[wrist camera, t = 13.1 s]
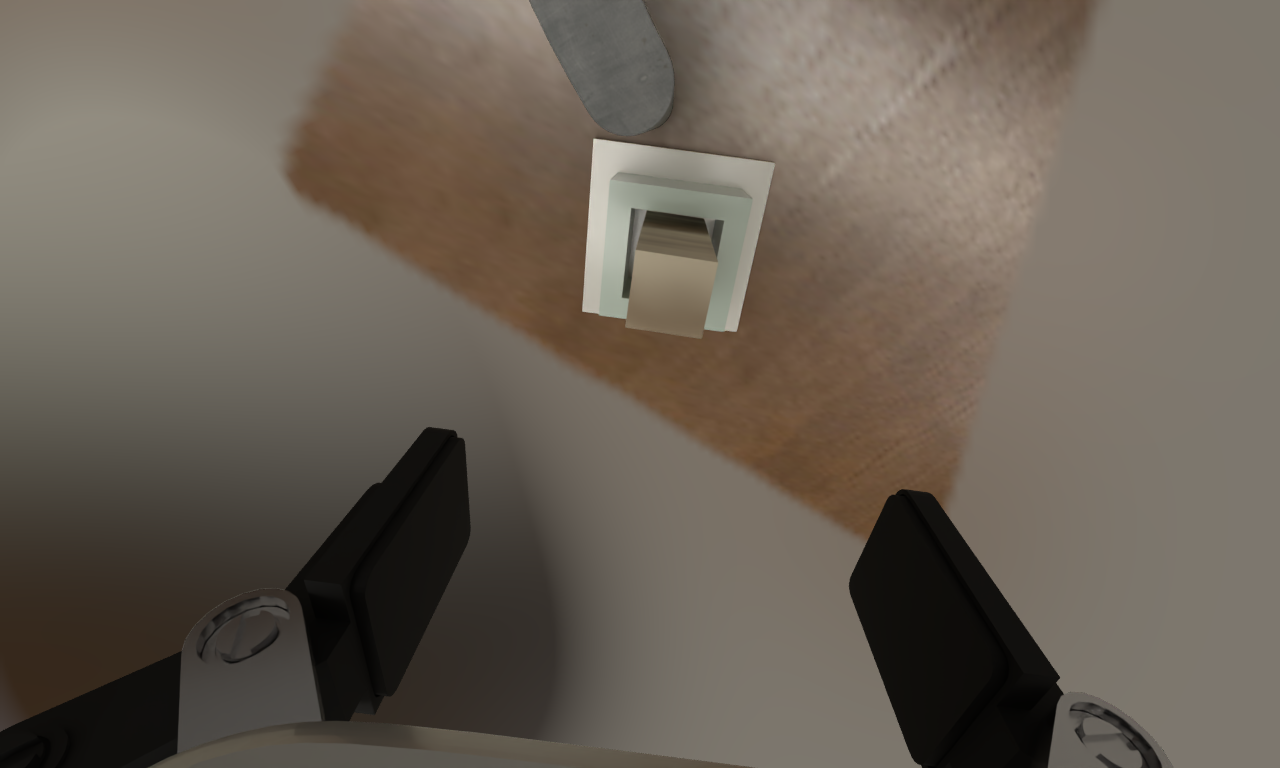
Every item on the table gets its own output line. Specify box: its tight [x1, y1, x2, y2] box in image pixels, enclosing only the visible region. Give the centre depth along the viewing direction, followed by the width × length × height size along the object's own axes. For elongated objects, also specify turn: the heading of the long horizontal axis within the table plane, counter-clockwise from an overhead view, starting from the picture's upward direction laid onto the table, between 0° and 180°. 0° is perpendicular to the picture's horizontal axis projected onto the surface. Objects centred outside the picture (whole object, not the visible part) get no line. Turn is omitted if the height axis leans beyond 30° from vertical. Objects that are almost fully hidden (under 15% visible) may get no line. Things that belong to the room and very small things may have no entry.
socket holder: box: [582, 138, 775, 332], centre depth 33 cm, size 12×12×6 cm
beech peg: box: [625, 210, 718, 339], centre depth 30 cm, size 4×4×12 cm
